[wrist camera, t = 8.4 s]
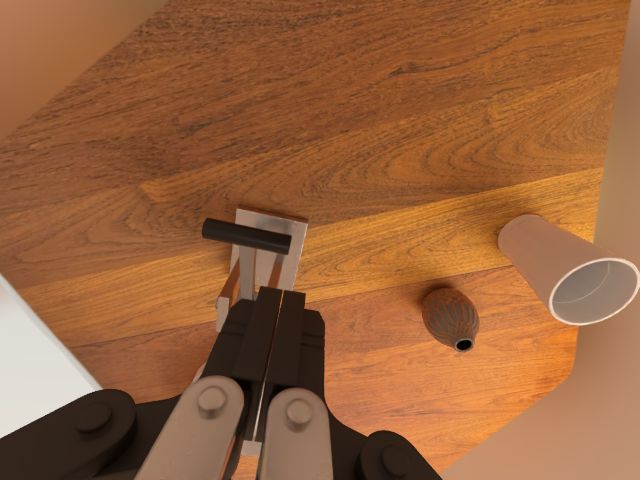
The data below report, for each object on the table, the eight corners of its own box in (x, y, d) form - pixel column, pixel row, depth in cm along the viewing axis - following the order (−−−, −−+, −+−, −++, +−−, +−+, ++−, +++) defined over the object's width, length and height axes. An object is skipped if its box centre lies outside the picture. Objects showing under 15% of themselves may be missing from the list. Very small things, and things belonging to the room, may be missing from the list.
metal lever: (210, 208, 21) (197, 234, 20) (294, 226, 22) (288, 253, 20) (222, 296, 33) (214, 318, 31) (277, 307, 33) (273, 329, 32)
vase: (412, 315, 46) (429, 363, 39) (423, 278, 43) (443, 322, 35) (457, 319, 47) (483, 367, 39) (471, 282, 43) (502, 326, 36)
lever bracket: (238, 204, 39) (198, 262, 26) (308, 219, 39) (300, 282, 27) (231, 275, 44) (193, 351, 32) (293, 287, 44) (280, 366, 32)
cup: (490, 216, 39) (551, 268, 28) (558, 201, 38) (649, 249, 27) (491, 268, 42) (546, 331, 32) (553, 255, 41) (632, 317, 30)
